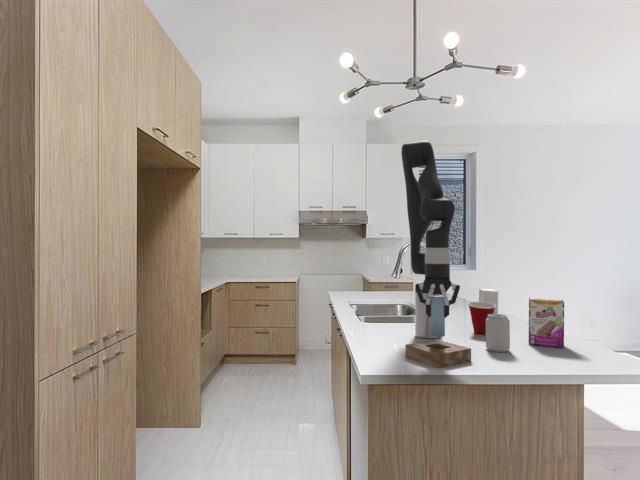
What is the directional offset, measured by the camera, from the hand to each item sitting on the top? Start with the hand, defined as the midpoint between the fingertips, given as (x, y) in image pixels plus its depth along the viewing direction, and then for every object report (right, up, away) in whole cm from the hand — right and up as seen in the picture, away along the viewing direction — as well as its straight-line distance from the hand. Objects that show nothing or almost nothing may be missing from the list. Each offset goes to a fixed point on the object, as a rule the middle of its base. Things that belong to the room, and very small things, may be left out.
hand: (437, 316), depth 133 cm
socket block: (0, -13, 0) cm, 13 cm away
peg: (0, -6, 0) cm, 6 cm away
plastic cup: (+29, -14, +38) cm, 50 cm away
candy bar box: (+44, -14, +18) cm, 49 cm away
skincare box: (+39, -14, +58) cm, 72 cm away
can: (+24, -14, +11) cm, 29 cm away
